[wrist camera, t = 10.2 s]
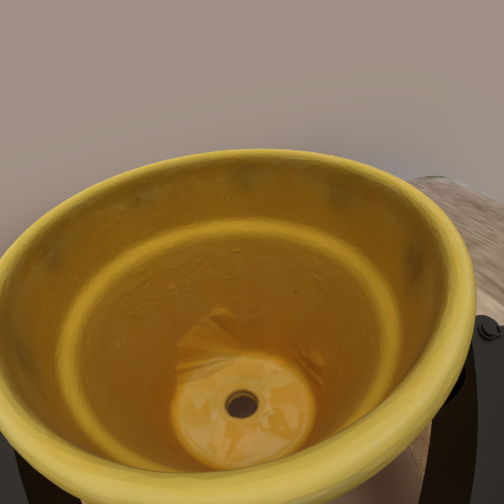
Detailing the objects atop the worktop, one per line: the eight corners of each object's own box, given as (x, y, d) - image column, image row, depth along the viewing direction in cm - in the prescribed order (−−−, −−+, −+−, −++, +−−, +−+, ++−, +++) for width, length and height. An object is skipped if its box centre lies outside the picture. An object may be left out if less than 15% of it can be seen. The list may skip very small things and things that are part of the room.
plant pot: (159, 327, 15) (105, 162, 10) (340, 324, 15) (366, 143, 9) (113, 498, 7) (-88, 365, 1) (371, 510, 6) (585, 401, 1)
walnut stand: (337, 340, 22) (345, 307, 20) (402, 515, 9) (432, 510, 6) (148, 366, 21) (130, 336, 19) (144, 552, 8) (113, 554, 5)
